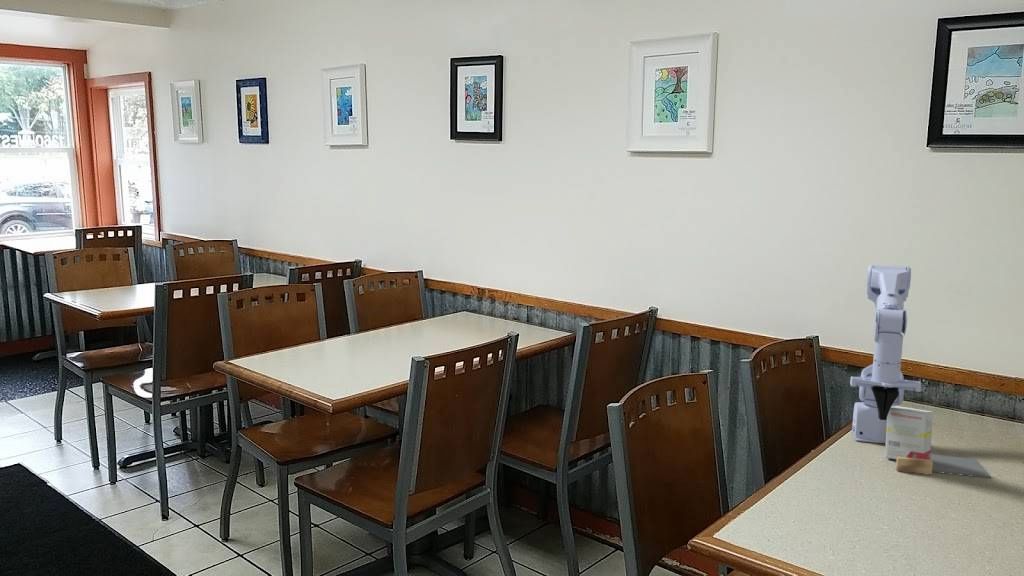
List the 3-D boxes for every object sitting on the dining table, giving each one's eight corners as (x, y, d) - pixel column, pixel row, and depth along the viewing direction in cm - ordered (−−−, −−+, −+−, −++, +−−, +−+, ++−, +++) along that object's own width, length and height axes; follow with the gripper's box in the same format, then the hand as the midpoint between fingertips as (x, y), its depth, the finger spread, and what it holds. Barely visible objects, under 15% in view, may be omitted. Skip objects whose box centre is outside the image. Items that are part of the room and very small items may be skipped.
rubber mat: (932, 472, 173) (932, 470, 173) (921, 455, 184) (921, 453, 184) (990, 478, 170) (990, 476, 170) (975, 460, 180) (976, 458, 180)
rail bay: (896, 471, 174) (898, 458, 173) (885, 449, 187) (886, 437, 187) (931, 474, 172) (932, 461, 171) (917, 452, 185) (918, 440, 185)
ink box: (931, 461, 178) (934, 410, 178) (923, 465, 175) (927, 412, 174) (892, 454, 184) (895, 404, 184) (884, 457, 181) (887, 406, 180)
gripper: (855, 362, 176) (850, 420, 178) (926, 367, 172) (920, 427, 174) (850, 355, 182) (846, 411, 184) (919, 360, 179) (914, 417, 181)
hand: (882, 418), depth 180 cm, fingers closed
